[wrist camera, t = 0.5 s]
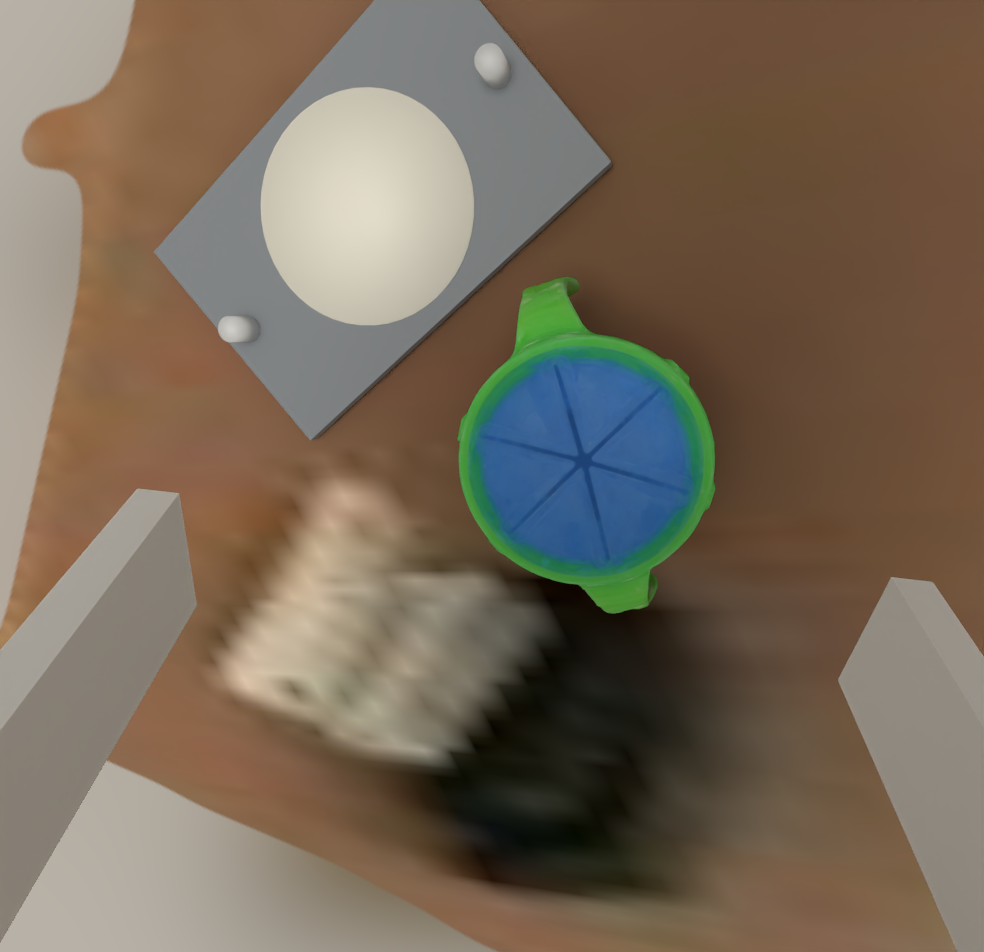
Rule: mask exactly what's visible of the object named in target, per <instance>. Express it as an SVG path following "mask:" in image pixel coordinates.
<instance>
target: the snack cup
mask: <svg viewBox="0 0 984 952" xmlns="http://www.w3.org/2000/svg"><path fill="white" fill-rule="evenodd" d="M579 287H580V284H579V282H578V281H577V280H576V279H575V278H571V277H562V278H557V279H554V280H552V281H550V282H545V283H542V284H540V285H536V286H531V287H529V288H526V289H525V290H523V293H522V300H521V303H520V308H519V315H518V323H517V333H516V344H515V348H514V352H513V354H512V356H511V357H510V358H509V359H508V360H507V361H506V362H505V363H504V364H503V365H502V366H500V367H499V368H498V369H497V370H496V371H495V372H494V373H493V374H492V375H491V376H490V377H489V379H488V380H487V381H486V382H485V383H484V385H483V386H482V387H481V388H480V390H479V391H478V393H477V394H476V396H475V398H474V400H473V402H472V404H471V406H470V408H469V411H468V413H467V414H466V415H465V416H464V417H463V418H462V420H461V425H460V429H459V435H458V438H457V439H458V441H459V442H460V445H459V475H460V480H461V486H462V490H463V493H464V496H465V499H466V502H467V504H468V507H469V509H470V511H471V513H472V515H473V517H474V519H475V520H476V522H477V524H478V525H479V527H480V528H481V530H482V531H483V532H484V534H485V535H486V536H487V538H488V540H489V542H490V543H491V544H492V546H493V547H494V548H495V549H496V550H498V551H499V552H500V553H501V554H504V555H505V556H507V557H508V558H509V559H510V560H512V561H513V562H515V563H516V564H518V565H519V566H521V567H523V568H525V569H527V570H528V571H530V572H532V573H535V574H537V575H539V576H542V577H545V578H548V579H551V580H554V581H558V582H563V583H568V584H578V585H580V586H581V587H582V589H584V590H585V591H586V592H587V593H588V595H589V596H590V597H591V598H592V599H593V600H594V602H595V603H596V605H597V606H599V607H601V608H602V609H603V610H604V611H605V612H607V613H620V612H623V611H625V610H630V609H641V608H644V607H646V606H648V605H649V603H650V601H651V600H652V599H653V596H654V595H655V592H656V589H657V587H658V584H657V579H656V577H655V576H654V575H653V574H651V573H650V570H651V569H652V568H653V567H655V566H656V565H658V564H660V563H661V562H663V561H664V560H665V559H667V558H668V557H669V556H670V555H672V554H673V553H674V552H675V551H676V550H677V549H678V548H679V547H680V546H681V545H682V544H683V543H684V542H685V541H686V540H687V539H688V538H689V537H690V535H691V534H692V532H693V531H694V529H695V528H696V526H697V524H698V523H699V521H700V518H701V516H702V514H703V512H704V511H705V510H707V509H708V508H709V507H710V504H711V501H712V499H713V495H714V492H715V483H714V480H713V478H714V471H715V452H714V446H715V444H714V439H713V435H712V431H711V427H710V424H709V421H708V417H707V414H706V412H705V410H704V408H703V406H702V404H701V402H700V400H699V398H698V397H697V395H696V393H695V392H694V390H693V389H692V388H691V386H690V383H689V376H688V375H687V374H686V373H685V372H684V371H683V370H682V369H681V368H680V367H679V366H678V365H677V364H676V363H675V362H674V361H673V360H671V359H664V358H661V357H660V356H658V355H657V354H655V353H654V352H652V351H651V350H649V349H646V348H644V347H642V346H640V345H638V344H635V343H633V342H630V341H627V340H624V339H621V338H617V337H613V336H606V335H599V334H595V333H592V332H591V331H589V330H588V329H587V328H586V327H585V326H584V325H583V324H582V322H581V320H580V318H579V316H578V315H577V313H576V311H575V309H574V307H573V306H572V304H571V301H570V299H569V297H568V296H570V295H572V294H574V293H576V292H577V291H578V290H579Z"/></svg>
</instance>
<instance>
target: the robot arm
mask: <svg viewBox="0 0 984 952" xmlns="http://www.w3.org/2000/svg"><path fill="white" fill-rule="evenodd" d="M196 606H197V603H196V597H195V590H194V584H193V578H192V572H191V565H190V559H189V553H188V546H187V540H186V534H185V527H184V521H183V515H182V508H181V502H180V496H179V493H171V492H163V491H154V490H146V489H137V490H136V491H135V492H134V493H133V494H132V495H131V497H130V498H129V499H128V500H127V501H126V503H125V504H124V505H123V506H122V507H121V508H120V510H119V511H118V512H117V513H116V514H115V515H114V517H113V518H112V519H111V520H110V521H109V523H108V524H107V525H106V526H105V527H104V528H103V530H102V531H101V532H100V533H99V534H98V535H97V537H96V538H95V539H94V540H93V541H92V543H91V544H90V545H89V546H88V547H87V548H86V550H85V551H84V552H83V553H82V554H81V556H80V557H79V558H78V559H77V560H76V561H75V563H74V564H73V565H72V566H71V567H70V568H69V570H68V571H67V572H66V573H65V574H64V576H63V577H62V578H61V579H60V580H59V581H58V583H57V584H56V585H55V586H54V587H53V588H52V590H51V591H50V592H49V593H48V594H47V596H46V597H45V598H44V599H43V600H42V601H41V603H40V604H39V605H38V606H37V607H36V608H35V610H34V611H33V612H32V613H31V614H30V616H29V617H28V618H27V619H26V620H25V621H24V623H23V624H22V625H21V626H20V627H19V628H18V630H17V631H16V632H15V633H14V634H13V636H12V637H11V638H10V639H9V640H8V641H7V643H6V644H5V645H4V646H3V647H2V648H1V650H0V942H1V940H2V939H3V937H4V935H5V933H6V932H7V930H8V928H9V927H10V925H11V923H12V921H13V920H14V918H15V916H16V914H17V913H18V911H19V909H20V908H21V906H22V904H23V902H24V901H25V899H26V897H27V896H28V894H29V892H30V891H31V889H32V887H33V885H34V884H35V882H36V880H37V879H38V877H39V875H40V873H41V872H42V870H43V868H44V866H45V865H46V863H47V861H48V860H49V858H50V856H51V855H52V853H53V851H54V849H55V848H56V846H57V844H58V842H59V841H60V839H61V837H62V836H63V834H64V832H65V830H66V829H67V827H68V825H69V824H70V822H71V820H72V818H73V817H74V815H75V813H76V812H77V810H78V808H79V806H80V805H81V803H82V801H83V800H84V798H85V796H86V795H87V793H88V791H89V789H90V788H91V786H92V784H93V783H94V781H95V779H96V777H97V776H98V774H99V772H100V771H101V769H102V767H103V765H104V763H105V762H106V760H107V759H108V757H109V755H110V753H111V752H112V750H113V748H114V747H115V745H116V743H117V741H118V740H119V738H120V736H121V734H122V733H123V731H124V729H125V728H126V726H127V724H128V722H129V721H130V719H131V717H132V716H133V714H134V712H135V710H136V709H137V707H138V705H139V704H140V702H141V700H142V698H143V697H144V695H145V693H146V692H147V690H148V688H149V686H150V685H151V683H152V681H153V680H154V678H155V676H156V674H157V673H158V671H159V669H160V668H161V666H162V664H163V662H164V661H165V659H166V657H167V656H168V654H169V652H170V650H171V649H172V647H173V645H174V644H175V642H176V640H177V638H178V637H179V635H180V633H181V632H182V630H183V628H184V626H185V625H186V623H187V621H188V620H189V618H190V616H191V614H192V613H193V611H194V609H195V608H196ZM838 682H839V684H840V686H841V689H842V691H843V693H844V695H845V698H846V700H847V702H848V704H849V707H850V709H851V711H852V714H853V716H854V718H855V720H856V723H857V725H858V727H859V729H860V732H861V734H862V736H863V739H864V741H865V743H866V745H867V748H868V750H869V752H870V754H871V757H872V759H873V761H874V764H875V766H876V768H877V770H878V773H879V775H880V777H881V780H882V782H883V784H884V786H885V789H886V791H887V793H888V795H889V798H890V800H891V802H892V805H893V807H894V809H895V811H896V814H897V816H898V818H899V820H900V823H901V825H902V827H903V830H904V832H905V834H906V836H907V839H908V841H909V843H910V845H911V848H912V850H913V852H914V855H915V857H916V859H917V861H918V864H919V866H920V868H921V870H922V873H923V875H924V877H925V880H926V882H927V884H928V886H929V889H930V891H931V893H932V895H933V898H934V900H935V902H936V905H937V907H938V909H939V911H940V914H941V916H942V918H943V920H944V923H945V925H946V927H947V930H948V932H949V934H950V936H951V939H952V941H953V943H954V945H955V948H956V950H957V952H984V656H983V655H982V654H981V652H980V651H979V649H978V648H977V646H976V645H975V643H974V642H973V640H972V639H971V637H970V636H969V634H968V633H967V632H966V630H965V629H964V627H963V626H962V624H961V623H960V621H959V620H958V618H957V617H956V615H955V614H954V612H953V611H952V610H951V608H950V607H949V605H948V604H947V602H946V601H945V599H944V598H943V596H942V595H941V593H940V592H939V590H938V589H937V588H936V586H935V585H934V583H933V582H929V581H920V580H912V579H903V578H895V577H891V579H890V581H889V583H888V584H887V586H886V588H885V590H884V592H883V594H882V596H881V598H880V600H879V602H878V604H877V606H876V608H875V609H874V611H873V613H872V615H871V617H870V619H869V621H868V623H867V625H866V627H865V629H864V631H863V633H862V634H861V636H860V638H859V640H858V642H857V644H856V646H855V648H854V650H853V652H852V654H851V656H850V658H849V659H848V661H847V663H846V665H845V667H844V669H843V671H842V673H841V675H840V677H839V679H838Z"/></svg>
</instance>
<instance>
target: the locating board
mask: <svg viewBox="0 0 984 952" xmlns="http://www.w3.org/2000/svg"><path fill="white" fill-rule="evenodd" d="M611 167H612V162H611V161H610V159H609V158H608V157H607V156H606V154H605V153H604V152H603V151H602V150H601V148H600V147H599V146H598V145H597V143H596V142H595V141H594V140H593V139H592V137H591V136H590V135H589V134H588V132H587V131H586V130H585V129H584V127H583V126H582V125H581V124H580V123H579V121H578V120H577V119H576V118H575V116H574V115H573V114H572V113H571V112H570V110H569V109H568V108H567V107H566V105H565V104H564V103H563V102H562V101H561V99H560V98H559V97H558V96H557V94H556V93H555V92H554V91H553V90H552V88H551V87H550V86H549V85H548V83H547V82H546V81H545V80H544V78H543V77H542V76H541V75H540V74H539V72H538V71H537V70H536V69H535V67H534V66H533V65H532V64H531V63H530V61H529V60H528V59H527V58H526V56H525V55H524V54H523V53H522V52H521V50H520V49H519V48H518V47H517V45H516V44H515V43H514V42H513V41H512V39H511V38H510V37H509V36H508V34H507V33H506V32H505V31H504V29H503V28H502V27H501V26H500V25H499V23H498V22H497V21H496V20H495V18H494V17H493V16H492V15H491V14H490V12H489V11H488V10H487V9H486V7H485V6H484V5H483V4H482V3H481V1H480V0H374V1H373V3H372V4H371V5H370V6H369V7H368V8H367V9H366V11H365V12H364V13H363V14H362V15H361V16H360V17H359V19H358V20H357V21H356V22H355V23H354V24H353V25H352V27H351V28H350V29H349V30H348V31H347V32H346V33H345V35H344V36H343V37H342V38H341V39H340V40H339V41H338V43H337V44H336V45H335V46H334V47H333V48H332V49H331V51H330V52H329V53H328V54H327V55H326V56H325V57H324V59H323V60H322V61H321V62H320V63H319V64H318V65H317V66H316V68H315V69H314V70H313V71H312V72H311V73H310V74H309V76H308V77H307V78H306V79H305V80H304V81H303V82H302V84H301V85H300V86H299V87H298V88H297V89H296V90H295V92H294V93H293V94H292V95H291V96H290V97H289V98H288V100H287V101H286V102H285V103H284V104H283V105H282V106H281V108H280V109H279V110H278V111H277V112H276V113H275V114H274V116H273V117H272V118H271V119H270V120H269V121H268V122H267V124H266V125H265V126H264V127H263V128H262V129H261V130H260V132H259V133H258V134H257V135H256V136H255V137H254V138H253V140H252V141H251V142H250V143H249V144H248V145H247V146H246V147H245V149H244V150H243V151H242V152H241V153H240V154H239V155H238V157H237V158H236V159H235V160H234V161H233V162H232V163H231V165H230V166H229V167H228V168H227V169H226V170H225V171H224V173H223V174H222V175H221V176H220V177H219V178H218V179H217V181H216V182H215V183H214V184H213V185H212V186H211V187H210V189H209V190H208V191H207V192H206V193H205V194H204V195H203V197H202V198H201V199H200V200H199V201H198V202H197V203H196V205H195V206H194V207H193V208H192V209H191V210H190V211H189V213H188V214H187V215H186V216H185V217H184V218H183V219H182V220H181V222H180V223H179V224H178V225H177V226H176V227H175V228H174V230H173V231H172V232H171V233H170V234H169V235H168V236H167V238H166V239H165V240H164V241H163V242H162V243H161V244H160V246H159V247H158V248H157V249H156V250H155V251H154V253H155V254H156V255H157V257H158V258H159V259H160V260H161V261H162V263H163V264H164V265H165V266H166V267H167V269H168V270H169V271H170V272H171V273H172V275H173V276H174V277H175V278H176V279H177V281H178V282H179V283H180V284H181V285H182V287H183V288H184V289H185V290H186V291H187V293H188V294H189V295H190V296H191V297H192V299H193V300H194V301H195V302H196V303H197V305H198V306H199V307H200V308H201V310H202V311H203V312H204V313H205V314H206V316H207V317H208V318H209V319H210V320H211V322H212V323H213V324H214V325H215V326H216V328H217V329H218V332H219V335H220V337H221V338H222V339H223V340H225V341H226V342H229V343H230V344H231V346H232V347H233V348H234V349H235V350H236V352H237V353H238V354H239V355H240V356H241V358H242V359H243V360H244V361H245V363H246V364H247V365H248V366H249V367H250V369H251V370H252V371H253V372H254V373H255V375H256V376H257V377H258V378H259V379H260V381H261V382H262V383H263V384H264V385H265V387H266V388H267V389H268V390H269V391H270V393H271V394H272V395H273V396H274V397H275V399H276V400H277V401H278V402H279V403H280V405H281V406H282V407H283V408H284V409H285V411H286V412H287V413H288V414H289V416H290V417H291V418H292V419H293V420H294V422H295V423H296V424H297V425H298V426H299V428H300V429H301V430H302V431H303V432H304V434H305V435H306V436H307V437H308V438H309V440H314V439H317V438H319V437H320V436H321V435H322V434H323V433H324V432H325V431H326V430H327V429H328V428H329V427H330V426H332V425H333V424H334V423H335V422H336V421H337V420H338V419H339V418H340V417H341V416H342V415H343V414H345V413H346V412H347V411H348V410H349V409H350V408H351V407H352V406H353V405H354V404H355V403H356V402H358V401H359V400H360V399H361V398H362V397H363V396H364V395H365V394H366V393H367V392H368V391H369V390H371V389H372V388H373V387H374V386H375V385H376V384H377V383H378V382H379V381H380V380H381V379H382V378H383V377H385V376H386V375H387V374H388V373H389V372H390V371H391V370H392V369H393V368H394V367H395V366H396V365H398V364H399V363H400V362H401V361H402V360H403V359H404V358H405V357H406V356H407V355H408V354H409V353H411V352H412V351H413V350H414V349H415V348H416V347H417V346H418V345H419V344H420V343H421V342H422V341H424V340H425V339H426V338H427V337H428V336H429V335H430V334H431V333H432V332H433V331H434V330H435V329H437V328H438V327H439V326H440V325H441V324H442V323H443V322H444V321H445V320H446V319H447V318H448V317H450V316H451V315H452V314H453V313H454V312H455V311H456V310H457V309H458V308H459V307H460V306H461V305H463V304H464V303H465V302H466V301H467V300H468V299H469V298H470V297H471V296H472V295H473V294H474V293H476V292H477V291H478V290H479V289H480V288H481V287H482V286H483V285H484V284H485V283H486V282H487V281H488V280H490V279H491V278H492V277H493V276H494V275H495V274H496V273H497V272H498V271H499V270H500V269H501V268H503V267H504V266H505V265H506V264H507V263H508V262H509V261H510V260H511V259H512V258H513V257H514V256H516V255H517V254H518V253H519V252H520V251H521V250H522V249H523V248H524V247H525V246H526V245H527V244H529V243H530V242H531V241H532V240H533V239H534V238H535V237H536V236H537V235H538V234H539V233H540V232H542V231H543V230H544V229H545V228H546V227H547V226H548V225H549V224H550V223H551V222H552V221H553V220H555V219H556V218H557V217H558V216H559V215H560V214H561V213H562V212H563V211H564V210H565V209H566V208H568V207H569V206H570V205H571V204H572V203H573V202H574V201H575V200H576V199H577V198H578V197H579V196H580V195H582V194H583V193H584V192H585V191H586V190H587V189H588V188H589V187H590V186H591V185H592V184H593V183H595V182H596V181H597V180H598V179H599V178H600V177H601V176H602V175H603V174H604V173H605V172H606V171H608V170H609V169H610V168H611Z"/></svg>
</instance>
